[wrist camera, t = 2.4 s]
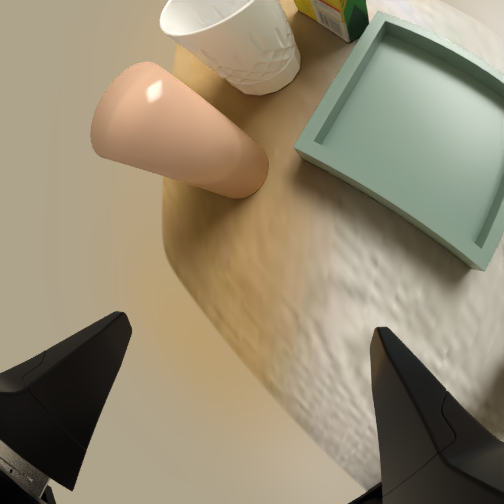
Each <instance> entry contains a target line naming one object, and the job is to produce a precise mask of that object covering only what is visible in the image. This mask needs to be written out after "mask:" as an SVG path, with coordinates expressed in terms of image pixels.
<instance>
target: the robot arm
mask: <svg viewBox="0 0 504 504" xmlns="http://www.w3.org/2000/svg"><path fill="white" fill-rule="evenodd" d="M131 335H132V327H131V325H130V322H129V320H128V317H127V315H126V314H125V313H124V312H119V311H115V312H113V313H111V314H109V315H108V316H106V317H104V318H102V319H101V320H99V321H97V322H95V323H93V324H92V325H90V326H88V327H86V328H84V329H83V330H81V331H79V332H77V333H76V334H74V335H72V336H70V337H69V338H67V339H65V340H63V341H61V342H59V343H58V344H56V345H54V346H52V347H51V348H49V349H48V350H46V351H44V352H42V353H40V354H38V355H37V356H35V357H33V358H31V359H29V360H27V361H25V362H23V363H21V364H19V365H17V366H15V367H13V368H11V369H9V370H6V371H4V372H2V373H0V504H56V502H55V499H54V496H53V493H52V489H51V487H50V486H48V485H47V484H48V482H49V480H50V478H51V479H53V480H54V481H56V482H57V483H59V484H61V485H62V486H64V487H66V488H67V489H69V490H70V491H73V489H74V487H75V484H76V480H77V477H78V474H79V471H80V468H81V465H82V462H83V460H84V457H85V454H86V450H87V448H88V445H89V443H90V440H91V437H92V435H93V432H94V429H95V427H96V424H97V422H98V419H99V417H100V414H101V412H102V409H103V407H104V404H105V402H106V399H107V397H108V395H109V392H110V390H111V388H112V385H113V383H114V381H115V378H116V376H117V374H118V371H119V369H120V367H121V364H122V361H123V358H124V355H125V352H126V349H127V346H128V343H129V340H130V338H131ZM370 360H371V381H372V394H373V401H374V408H375V415H376V423H377V432H378V441H379V451H380V462H381V476H382V482H381V483H379V484H378V485H377V486H375V487H374V488H372V489H371V490H369V491H368V492H366V493H365V494H363V495H361V496H360V497H358V498H357V499H355V500H353V501H352V502H350V503H348V504H504V442H502V441H500V440H499V439H497V438H496V437H495V436H493V435H492V434H491V433H490V432H489V431H488V430H487V429H486V428H485V427H484V426H482V425H481V424H480V423H479V422H478V421H477V420H476V419H475V418H474V417H473V416H472V415H471V414H470V413H468V412H467V411H466V410H465V409H464V408H463V407H462V406H461V405H460V404H459V402H458V401H457V400H456V399H455V398H454V397H453V396H452V395H451V394H450V393H449V392H448V391H446V388H445V387H444V386H443V385H442V384H441V383H440V382H439V381H438V380H437V378H436V377H435V376H434V375H433V374H432V373H431V372H430V371H429V370H428V369H427V368H426V367H425V365H424V364H423V363H422V362H421V361H420V360H419V359H418V358H417V357H416V356H415V355H414V354H413V353H412V352H411V351H410V350H409V349H408V348H407V346H406V345H405V344H404V343H403V342H402V341H401V340H400V339H399V338H398V337H397V336H396V335H395V334H394V333H393V332H392V331H391V330H390V329H389V328H388V327H376V328H375V330H374V333H373V337H372V341H371V344H370Z"/></svg>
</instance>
